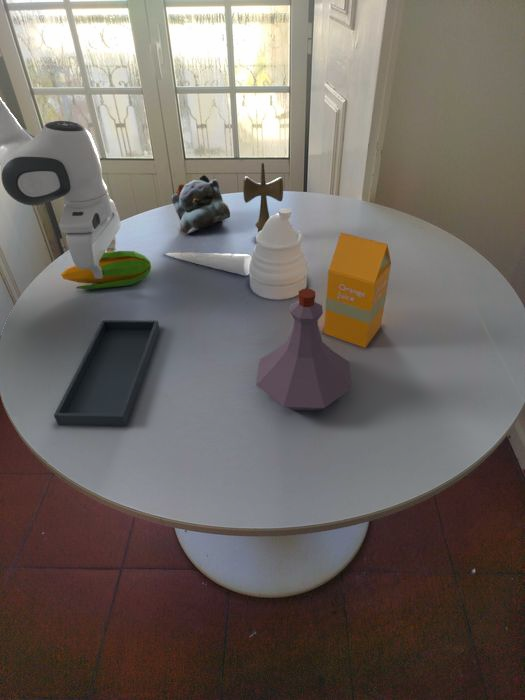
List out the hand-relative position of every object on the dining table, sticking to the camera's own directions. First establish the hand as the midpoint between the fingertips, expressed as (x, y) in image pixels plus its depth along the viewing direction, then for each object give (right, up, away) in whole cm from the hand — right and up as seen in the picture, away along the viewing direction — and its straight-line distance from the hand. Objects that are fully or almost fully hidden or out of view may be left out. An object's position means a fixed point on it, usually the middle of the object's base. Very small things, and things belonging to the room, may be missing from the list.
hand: (106, 265), depth 105 cm
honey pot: (+39, -4, +1) cm, 39 cm away
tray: (+8, -23, -20) cm, 32 cm away
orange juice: (+53, -15, -13) cm, 56 cm away
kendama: (+36, +9, +17) cm, 41 cm away
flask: (+42, -26, -25) cm, 55 cm away
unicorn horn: (+22, +1, +8) cm, 23 cm away
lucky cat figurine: (+18, +15, +25) cm, 35 cm away
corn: (0, -4, +3) cm, 5 cm away
